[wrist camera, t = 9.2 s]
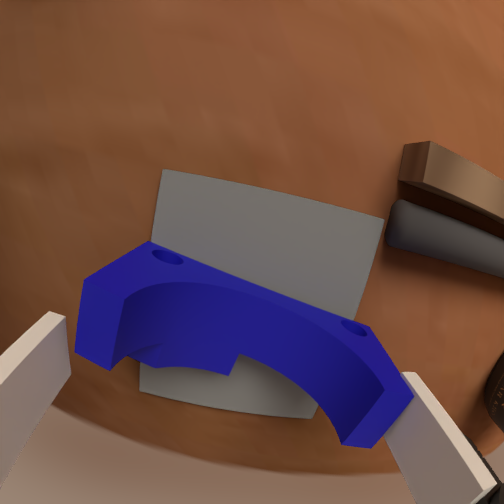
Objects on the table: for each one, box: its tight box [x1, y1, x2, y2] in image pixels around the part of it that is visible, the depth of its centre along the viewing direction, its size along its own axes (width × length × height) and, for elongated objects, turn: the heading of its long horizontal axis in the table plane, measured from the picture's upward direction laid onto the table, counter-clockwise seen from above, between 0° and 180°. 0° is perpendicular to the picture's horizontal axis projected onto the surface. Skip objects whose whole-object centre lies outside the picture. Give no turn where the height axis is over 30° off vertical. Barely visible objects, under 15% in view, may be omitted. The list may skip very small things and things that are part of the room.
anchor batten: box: [398, 141, 504, 225], centre depth 13 cm, size 14×2×2 cm, turn 78°
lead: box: [385, 200, 504, 278], centre depth 14 cm, size 14×2×2 cm, turn 78°
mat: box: [139, 169, 384, 419], centre depth 16 cm, size 11×13×1 cm
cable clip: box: [75, 241, 414, 449], centre depth 12 cm, size 12×4×6 cm, turn 68°
